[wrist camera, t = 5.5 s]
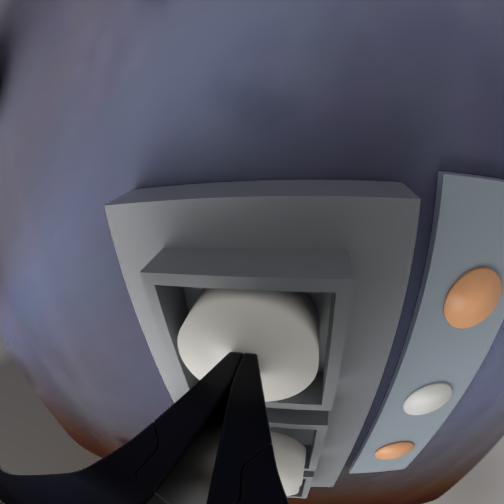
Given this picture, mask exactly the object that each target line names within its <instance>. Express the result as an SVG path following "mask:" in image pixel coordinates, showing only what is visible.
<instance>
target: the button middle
mask: <svg viewBox="0 0 504 504" xmlns="http://www.w3.org/2000/svg"><path fill="white" fill-rule="evenodd" d="M270 433H271V439H272V445H273V449H274V455H275V460H276V464H277V469H278V473H279V476H280V479H281V482H282V485H283V488H284V491H290V490H294V489H297V488H299V487H300V486H301V485H302V481H303V474H304V466H305V458H306V448H305V446H304V445H303V444H302V443H301V442H299V441H298V440H296V439H294V438H292V437H290V436H287V435H285V434H281V433H278V432H274V431H270Z"/></svg>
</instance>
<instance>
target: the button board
mask: <svg viewBox="0 0 504 504" xmlns="http://www.w3.org/2000/svg"><path fill="white" fill-rule="evenodd" d="M420 203H421V199H420V198H419V197H418V196H417V195H416V194H415V193H414V192H412V191H411V190H410V189H409V188H408V187H407V186H406V185H405V184H403V183H402V182H391V181H368V180H256V181H232V182H213V183H198V184H184V185H172V186H161V187H150V188H141V189H133V190H131V191H129V192H128V193H126V194H124V195H122V196H120V197H118V198H117V199H115V200H113V201H111V202H110V203H108V204H106V205H104V207H105V212H106V216H107V220H108V224H109V228H110V232H111V235H112V239H113V243H114V246H115V250H116V253H117V257H118V260H119V264H120V267H121V270H122V273H123V277H124V280H125V283H126V286H127V289H128V292H129V295H130V298H131V301H132V303H133V306H134V309H135V312H136V315H137V317H138V320H139V323H140V325H141V328H142V331H143V333H144V336H145V338H146V341H147V343H148V346H149V348H150V351H151V353H152V355H153V358H154V360H155V362H156V365H157V367H158V369H159V372H160V374H161V376H162V378H163V381H164V383H165V385H166V387H167V389H168V391H169V393H170V396H171V398H172V400H173V402H174V403H175V402H176V401H177V400H179V399H180V398H181V397H182V396H183V395H184V394H185V393H186V392H187V391H189V390H190V389H191V388H192V387H193V386H194V385H195V384H196V383H197V382H198V381H199V379H197V378H196V377H195V376H194V375H193V374H192V373H191V372H190V371H189V369H188V368H187V367H186V365H185V364H184V362H183V360H182V358H181V356H180V354H179V350H178V344H177V339H178V333H179V330H180V328H181V326H182V325H183V323H184V321H185V319H186V318H187V316H188V314H189V312H190V311H191V309H192V307H193V306H194V304H195V302H196V300H197V299H198V297H199V295H200V294H201V292H202V290H203V289H204V288H213V289H233V290H256V291H284V292H305V293H306V294H307V295H308V296H309V297H310V298H311V300H312V301H313V303H314V305H315V306H316V309H317V311H318V314H319V319H320V339H319V366H318V371H317V374H316V376H315V378H314V380H313V381H312V383H311V384H310V385H309V386H308V387H307V388H306V389H304V390H303V391H302V392H300V393H298V394H296V395H294V396H292V397H289V398H286V399H283V400H277V401H270V402H265V404H266V410H267V416H268V421H269V427H270V431H274V432H278V433H281V434H285V435H287V436H290V437H292V438H294V439H296V440H298V441H299V442H301V443H302V444H303V445H304V446H305V448H306V458H305V466H304V474H303V481H302V485H301V486H300V487H299V492H298V493H297V494H295V495H291V496H287V497H291V498H307V496H308V493H309V490H310V487H333V485H334V484H335V482H336V480H337V478H338V476H339V474H340V473H341V471H342V469H343V467H344V465H345V463H346V461H347V459H348V457H349V455H350V453H351V451H352V449H353V446H354V444H355V442H356V440H357V438H358V436H359V433H360V431H361V429H362V427H363V424H364V422H365V420H366V417H367V415H368V412H369V410H370V407H371V405H372V402H373V400H374V397H375V395H376V392H377V389H378V386H379V384H380V381H381V378H382V375H383V372H384V369H385V366H386V363H387V360H388V357H389V354H390V351H391V347H392V344H393V341H394V337H395V334H396V330H397V326H398V323H399V319H400V315H401V311H402V307H403V303H404V299H405V294H406V290H407V285H408V280H409V276H410V270H411V265H412V260H413V254H414V248H415V242H416V235H417V228H418V220H419V212H420Z"/></svg>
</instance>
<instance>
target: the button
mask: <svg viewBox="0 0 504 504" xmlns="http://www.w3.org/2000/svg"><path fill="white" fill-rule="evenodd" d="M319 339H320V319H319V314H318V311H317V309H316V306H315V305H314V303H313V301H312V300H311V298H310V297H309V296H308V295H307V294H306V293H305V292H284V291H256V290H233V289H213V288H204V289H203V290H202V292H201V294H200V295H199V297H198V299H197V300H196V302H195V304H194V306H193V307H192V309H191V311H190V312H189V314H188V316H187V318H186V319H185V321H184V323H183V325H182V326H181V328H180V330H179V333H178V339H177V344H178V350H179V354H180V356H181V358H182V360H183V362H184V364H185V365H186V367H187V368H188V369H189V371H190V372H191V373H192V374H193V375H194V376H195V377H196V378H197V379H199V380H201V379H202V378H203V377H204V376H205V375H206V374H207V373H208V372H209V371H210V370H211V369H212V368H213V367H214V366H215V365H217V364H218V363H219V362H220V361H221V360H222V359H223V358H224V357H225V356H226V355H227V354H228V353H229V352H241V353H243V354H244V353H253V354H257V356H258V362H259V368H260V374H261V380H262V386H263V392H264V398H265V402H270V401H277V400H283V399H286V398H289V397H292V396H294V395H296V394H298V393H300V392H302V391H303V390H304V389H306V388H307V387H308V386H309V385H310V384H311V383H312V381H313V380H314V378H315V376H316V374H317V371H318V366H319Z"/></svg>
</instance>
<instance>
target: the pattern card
mask: <svg viewBox="0 0 504 504" xmlns="http://www.w3.org/2000/svg"><path fill="white" fill-rule="evenodd" d="M503 320H504V179H498V178H492V177H485V176H478V175H471V174H463V173H454V172H445V171H438V178H437V190H436V199H435V208H434V216H433V223H432V230H431V236H430V242H429V247H428V253H427V258H426V263H425V268H424V273H423V277H422V282H421V286H420V290H419V294H418V298H417V302H416V306H415V309H414V313H413V317H412V320H411V324H410V327H409V330H408V333H407V337H406V340H405V343H404V346H403V349H402V352H401V355H400V358H399V361H398V363H397V366H396V369H395V372H394V374H393V377H392V379H391V382H390V385H389V387H388V390H387V392H386V394H385V397H384V399H383V402H382V404H381V406H380V408H379V411H378V413H377V415H376V417H375V420H374V422H373V424H372V426H371V428H370V430H369V432H368V434H367V436H366V438H365V440H364V442H363V444H362V446H361V448H360V450H359V452H358V454H357V456H356V457H355V459H354V461H353V463H352V465H351V466H350V468H349V473H369V472H381V471H391V470H399V469H405V468H406V467H407V466H408V465H409V464H410V463H411V462H412V460H413V459H414V458H415V457H416V456H417V455H418V454H419V453H420V451H421V450H422V449H423V448H424V447H425V445H426V444H427V443H428V442H429V441H430V439H431V438H432V437H433V436H434V434H435V433H436V432H437V431H438V429H439V428H440V427H441V425H442V424H443V423H444V421H445V420H446V419H447V417H448V416H449V414H450V413H451V412H452V410H453V409H454V407H455V406H456V404H457V403H458V402H459V400H460V399H461V397H462V395H463V394H464V392H465V391H466V389H467V388H468V386H469V384H470V383H471V381H472V380H473V378H474V376H475V374H476V373H477V371H478V369H479V368H480V366H481V364H482V362H483V360H484V359H485V357H486V355H487V353H488V351H489V349H490V347H491V345H492V343H493V341H494V339H495V337H496V335H497V333H498V331H499V329H500V326H501V324H502V322H503Z"/></svg>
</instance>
